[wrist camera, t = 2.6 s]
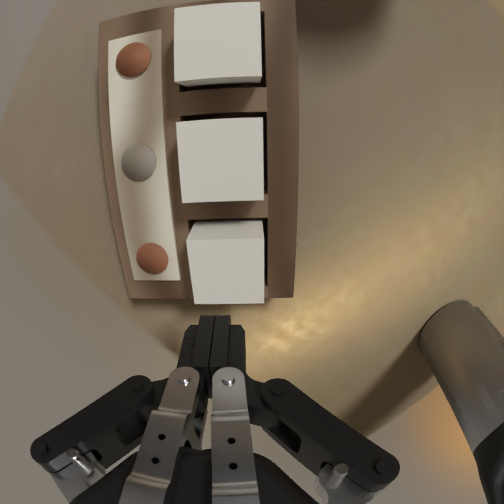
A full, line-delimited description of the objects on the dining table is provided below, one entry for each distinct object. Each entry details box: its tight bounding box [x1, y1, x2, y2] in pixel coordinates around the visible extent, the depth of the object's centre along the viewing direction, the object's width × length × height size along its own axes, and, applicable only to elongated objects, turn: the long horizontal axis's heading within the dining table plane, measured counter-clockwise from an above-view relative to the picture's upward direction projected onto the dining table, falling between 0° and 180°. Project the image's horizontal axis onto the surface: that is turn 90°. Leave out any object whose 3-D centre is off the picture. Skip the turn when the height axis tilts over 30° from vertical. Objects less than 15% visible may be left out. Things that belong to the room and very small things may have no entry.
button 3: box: [174, 2, 262, 87], centre depth 15 cm, size 5×5×4 cm
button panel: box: [98, 0, 299, 299], centre depth 21 cm, size 14×23×4 cm, turn 1°
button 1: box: [186, 219, 264, 304], centre depth 22 cm, size 5×5×4 cm
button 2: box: [176, 117, 264, 203], centre depth 19 cm, size 5×5×4 cm
